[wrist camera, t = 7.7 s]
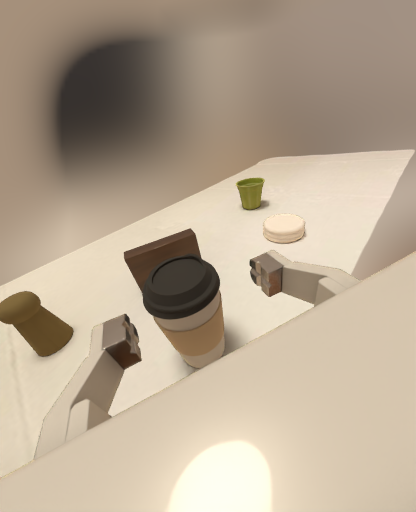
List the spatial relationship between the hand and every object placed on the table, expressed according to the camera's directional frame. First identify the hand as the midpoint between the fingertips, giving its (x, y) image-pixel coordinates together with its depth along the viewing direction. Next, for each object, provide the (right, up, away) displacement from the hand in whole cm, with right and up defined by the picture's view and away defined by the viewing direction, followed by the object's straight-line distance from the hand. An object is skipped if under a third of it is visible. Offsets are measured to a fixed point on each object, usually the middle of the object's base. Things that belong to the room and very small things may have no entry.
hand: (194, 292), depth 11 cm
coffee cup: (0, -12, +19) cm, 22 cm away
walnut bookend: (-8, -2, +35) cm, 36 cm away
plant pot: (+16, +20, +59) cm, 64 cm away
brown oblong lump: (-27, -14, +25) cm, 40 cm away
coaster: (+21, +8, +40) cm, 46 cm away
